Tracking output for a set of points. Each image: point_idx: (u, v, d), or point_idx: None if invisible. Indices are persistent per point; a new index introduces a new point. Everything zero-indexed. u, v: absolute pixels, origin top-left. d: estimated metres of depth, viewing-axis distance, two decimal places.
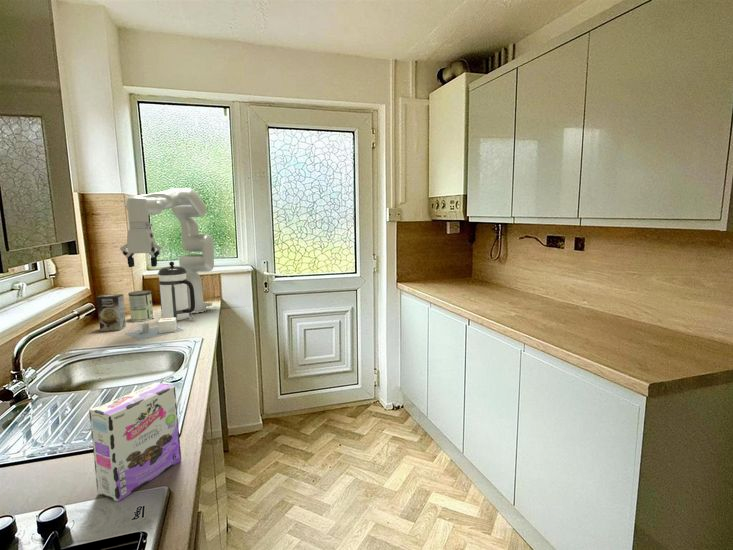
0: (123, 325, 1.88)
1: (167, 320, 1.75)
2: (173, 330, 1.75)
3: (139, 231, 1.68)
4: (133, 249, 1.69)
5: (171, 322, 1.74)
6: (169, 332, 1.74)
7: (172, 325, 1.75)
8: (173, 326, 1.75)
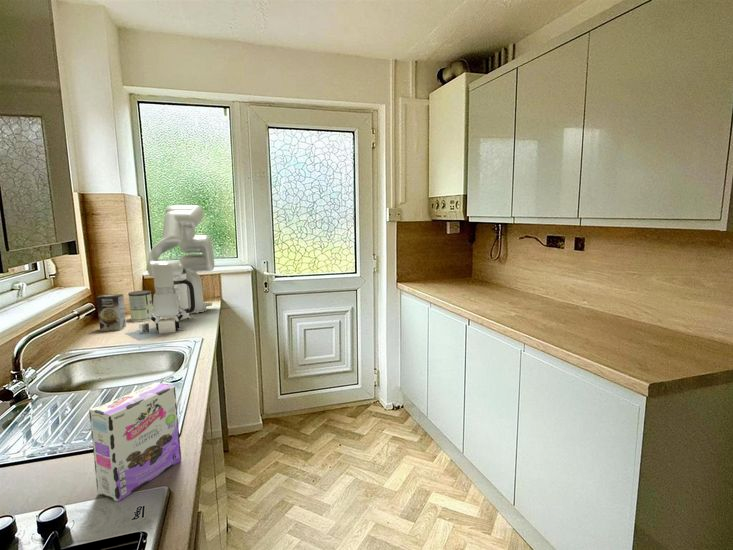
0: (123, 325, 1.88)
1: (167, 320, 1.75)
2: (173, 330, 1.75)
3: (167, 296, 1.73)
4: (160, 313, 1.74)
5: (171, 322, 1.74)
6: (169, 332, 1.74)
7: (172, 325, 1.75)
8: (173, 326, 1.75)
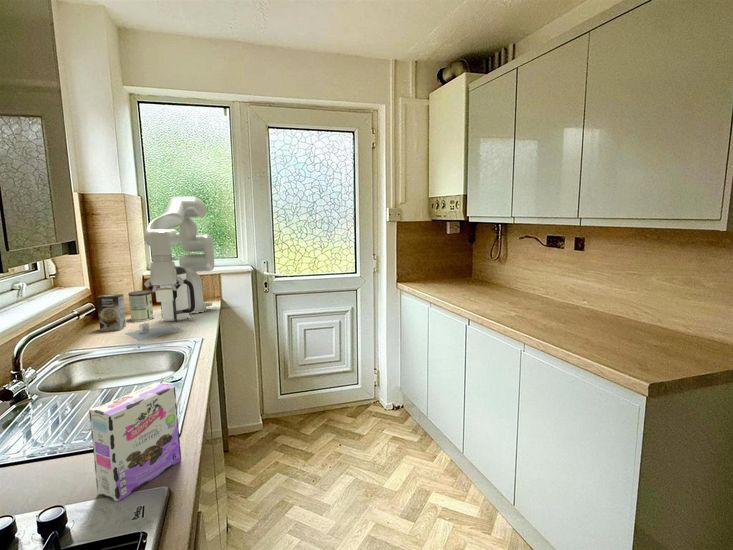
0: (123, 325, 1.88)
1: (165, 289, 1.74)
2: (171, 299, 1.74)
3: (164, 264, 1.72)
4: (157, 282, 1.72)
5: (169, 291, 1.73)
6: (169, 332, 1.74)
7: (170, 294, 1.73)
8: (171, 295, 1.73)
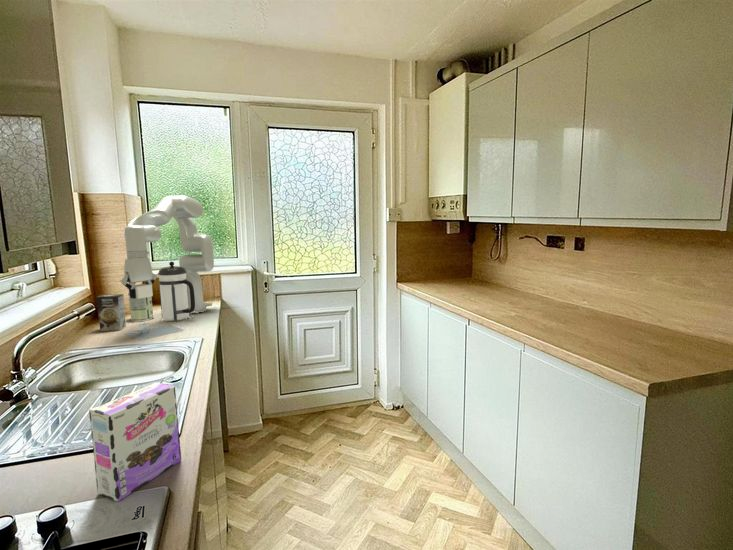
0: (123, 325, 1.88)
1: (143, 285, 1.71)
2: (151, 294, 1.73)
3: (144, 259, 1.71)
4: (137, 278, 1.69)
5: (149, 286, 1.72)
6: (169, 332, 1.74)
7: (150, 289, 1.73)
8: (151, 290, 1.73)
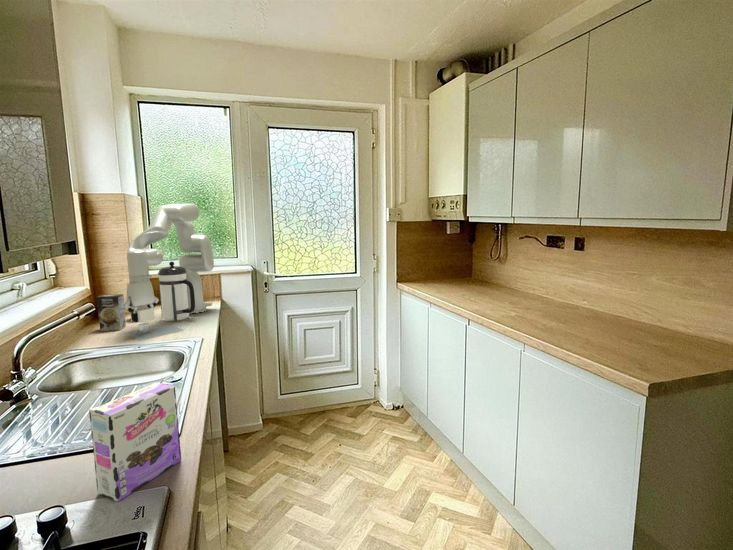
0: (123, 325, 1.88)
1: (145, 309, 1.73)
2: (153, 318, 1.75)
3: (146, 283, 1.72)
4: (139, 302, 1.70)
5: (151, 310, 1.74)
6: (169, 332, 1.74)
7: (152, 313, 1.74)
8: (153, 314, 1.75)
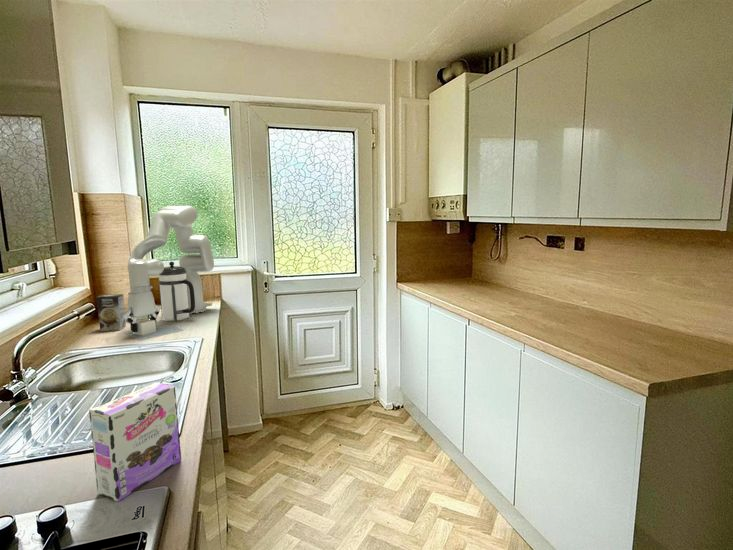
0: (123, 325, 1.88)
1: (147, 321, 1.74)
2: (154, 330, 1.76)
3: (147, 294, 1.73)
4: (140, 313, 1.71)
5: (152, 322, 1.75)
6: (169, 332, 1.74)
7: (153, 325, 1.75)
8: (154, 326, 1.76)
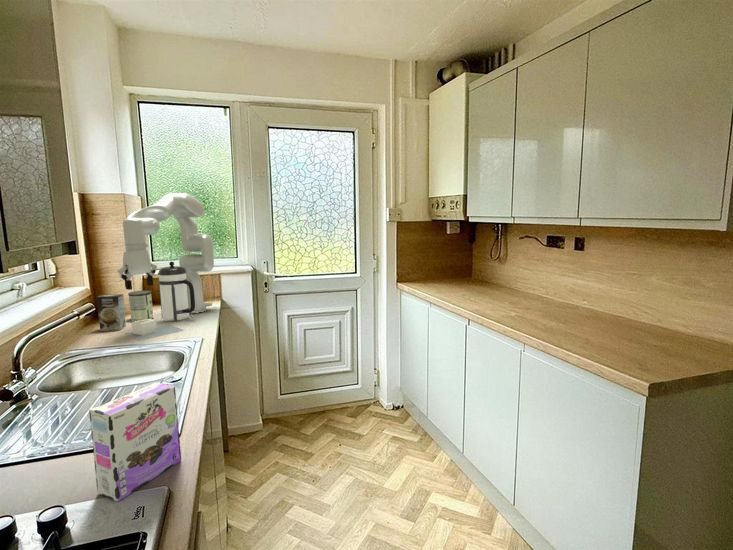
0: (123, 325, 1.88)
1: (147, 321, 1.74)
2: (154, 330, 1.76)
3: (142, 252, 1.71)
4: (136, 271, 1.69)
5: (152, 322, 1.75)
6: (169, 332, 1.74)
7: (153, 325, 1.75)
8: (154, 326, 1.76)
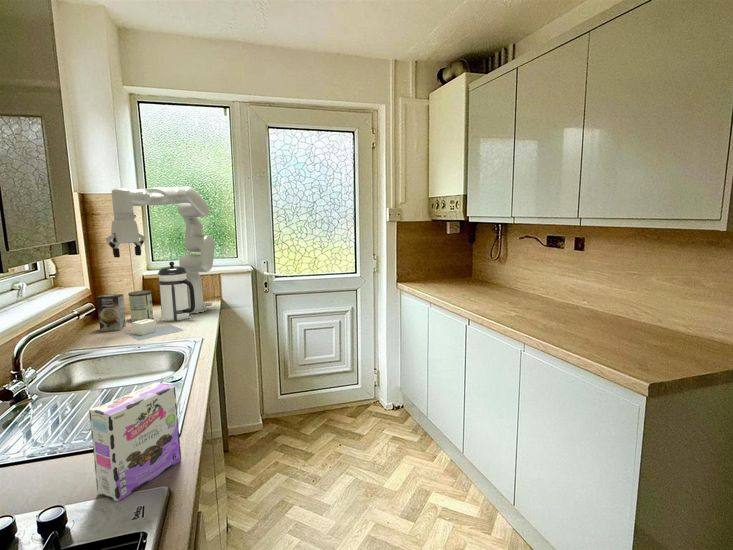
0: (123, 325, 1.88)
1: (147, 321, 1.74)
2: (154, 330, 1.76)
3: (130, 222, 1.76)
4: (124, 239, 1.74)
5: (152, 322, 1.75)
6: (169, 332, 1.74)
7: (153, 325, 1.75)
8: (154, 326, 1.76)
